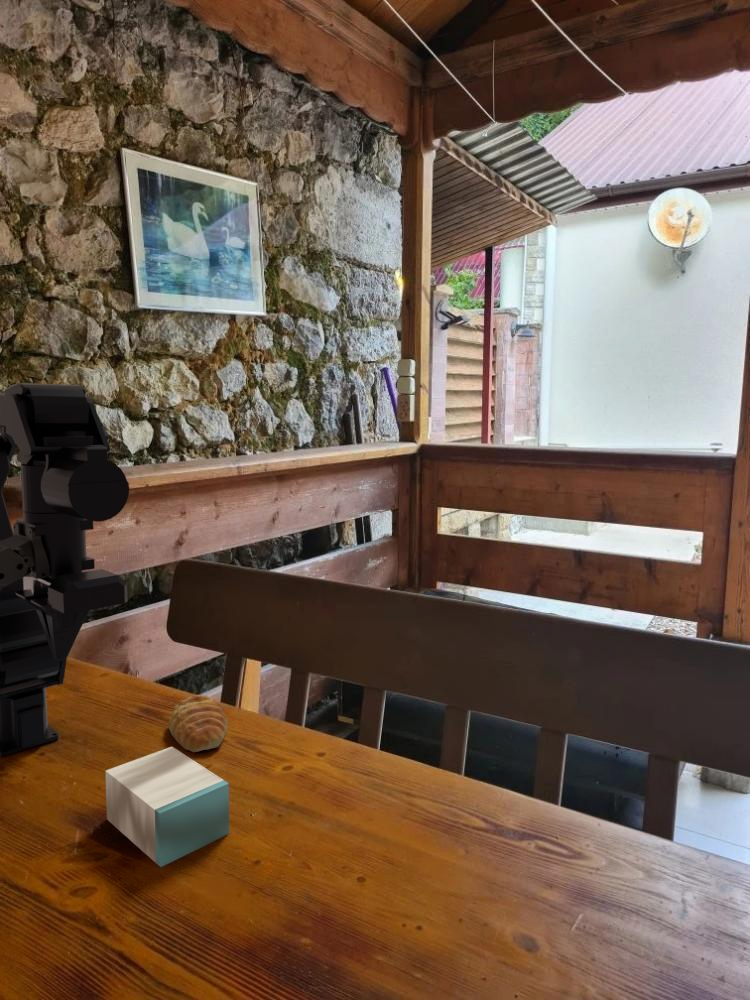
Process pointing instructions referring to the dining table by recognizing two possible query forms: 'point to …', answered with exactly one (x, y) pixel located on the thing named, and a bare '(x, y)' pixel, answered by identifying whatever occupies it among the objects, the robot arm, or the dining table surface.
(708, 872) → the dining table surface
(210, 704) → the pastry
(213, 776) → the birch block
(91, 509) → the robot arm
